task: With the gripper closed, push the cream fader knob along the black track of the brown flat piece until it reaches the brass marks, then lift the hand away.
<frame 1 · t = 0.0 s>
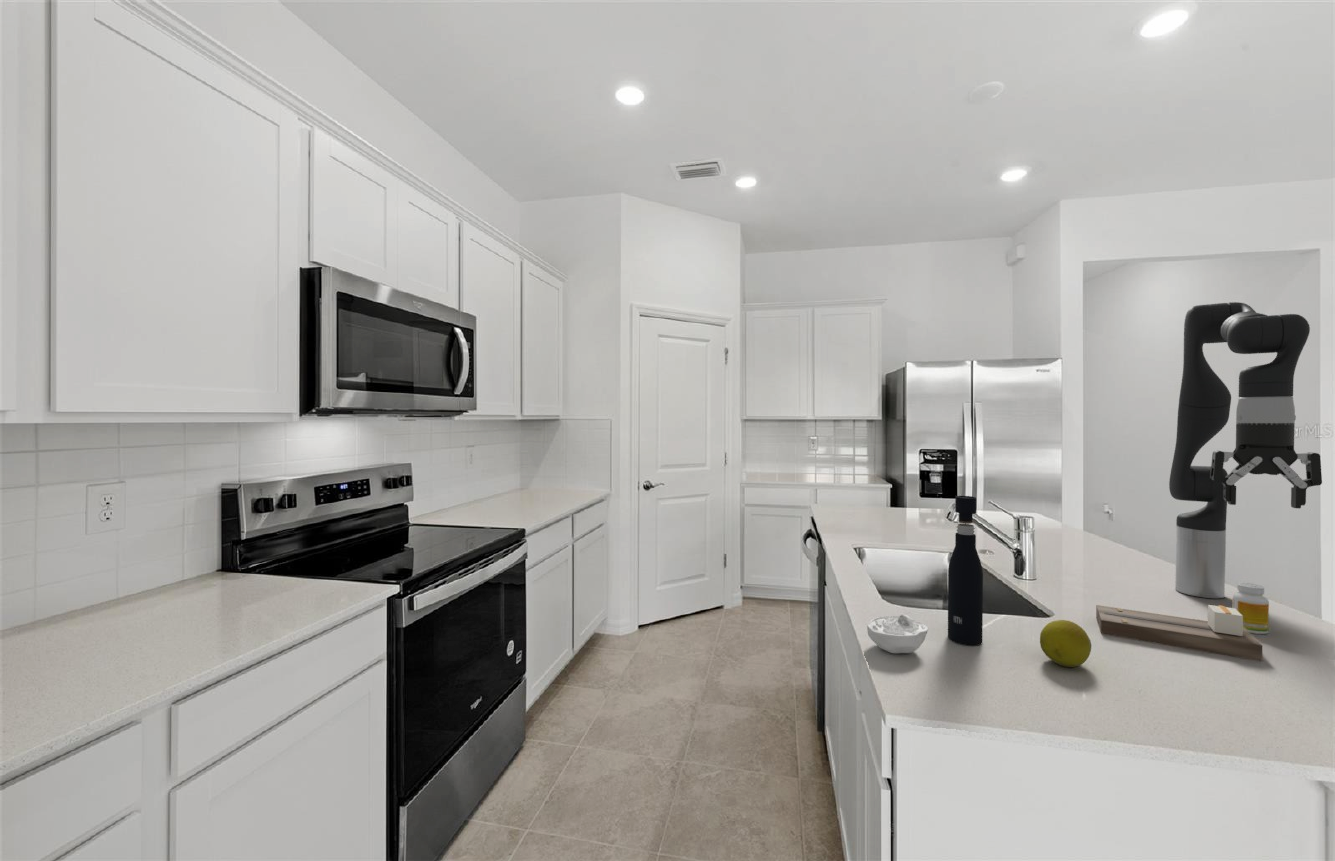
hand: (1262, 506, 104), 29 cm above the counter, tool pointing down, fingers open, 8 cm apart
brown flat piece: (1171, 637, 115), on the counter
cell model: (896, 651, 110), on the counter
lemon: (1065, 664, 103), on the counter
supplement bottle: (1249, 630, 119), on the counter
black water bottle: (964, 640, 114), on the counter
fader: (1224, 619, 110), point 5 cm above the counter, slide at 0.0 cm
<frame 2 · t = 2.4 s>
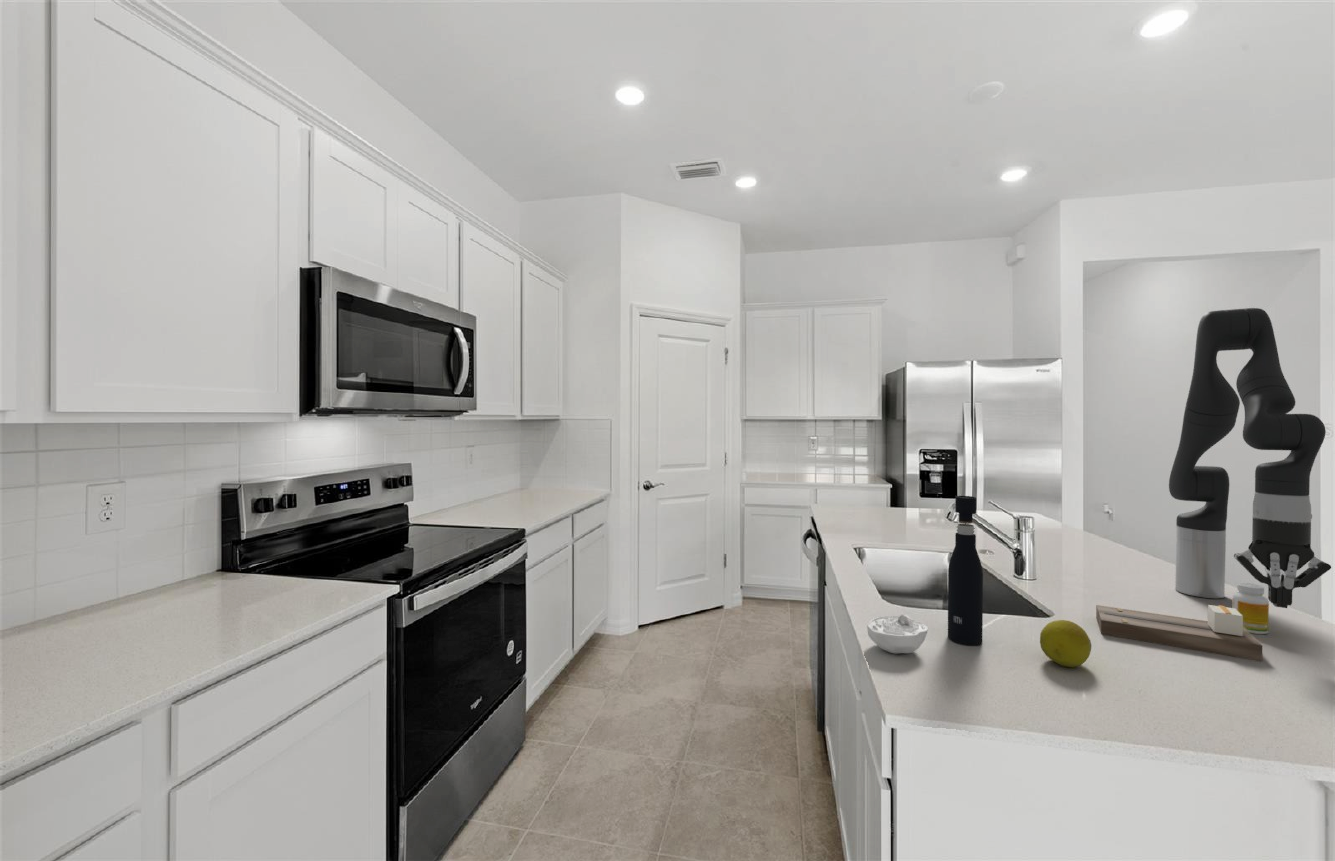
hand: (1279, 606, 106), 10 cm above the counter, tool pointing down, fingers closed
nothing on the counter moved.
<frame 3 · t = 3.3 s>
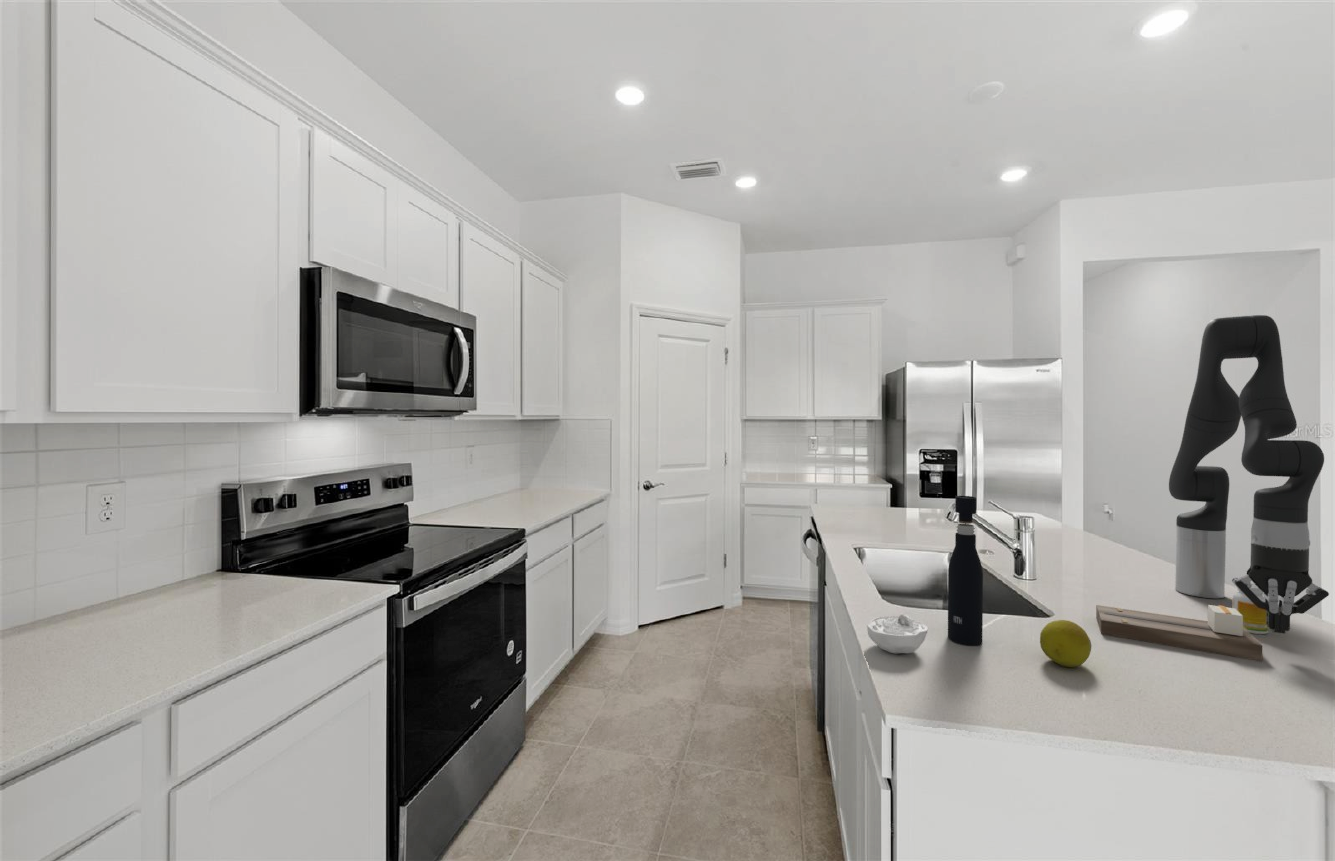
hand: (1277, 631, 106), 5 cm above the counter, tool pointing down, fingers closed
nothing on the counter moved.
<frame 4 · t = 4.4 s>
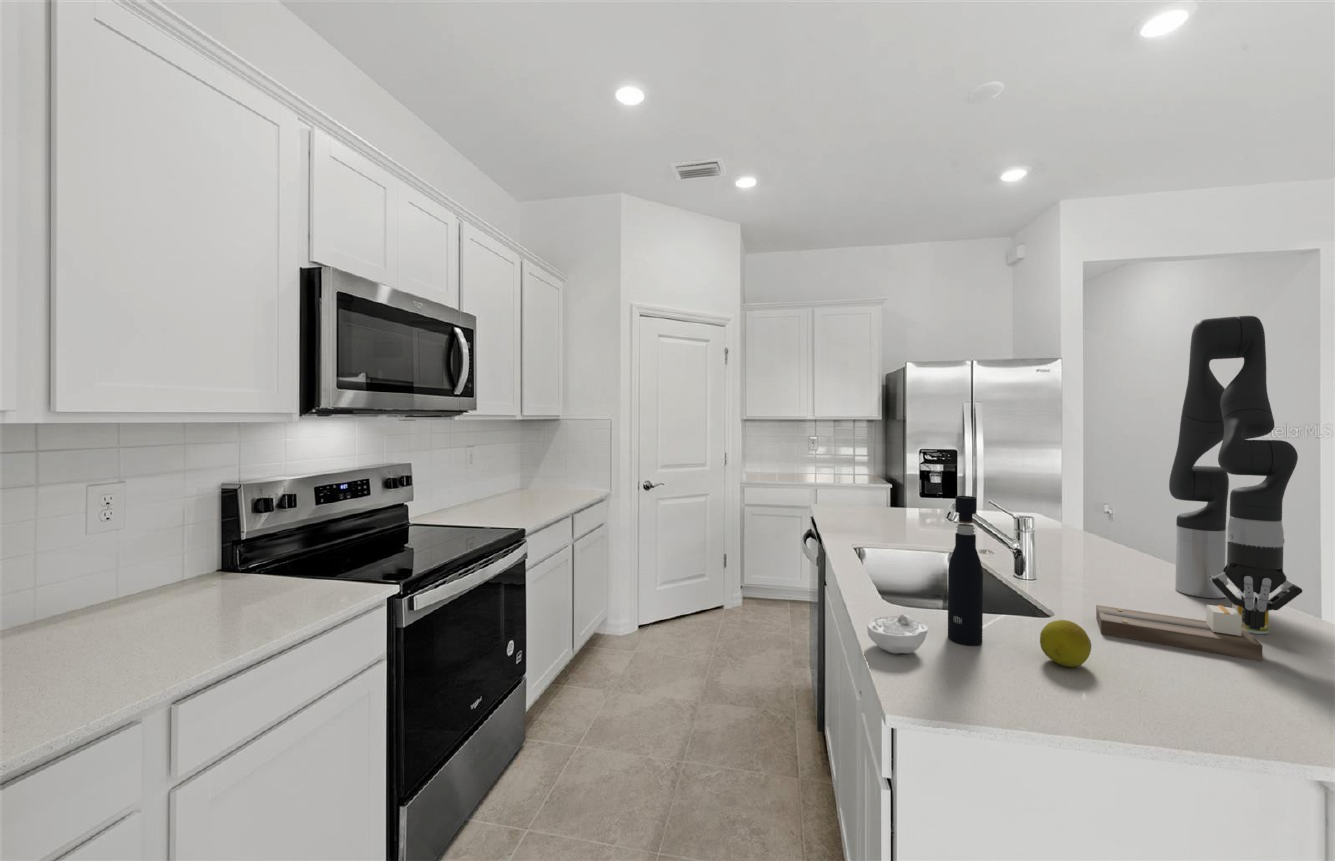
hand: (1253, 628, 108), 5 cm above the counter, tool pointing down, fingers closed
fader: (1223, 619, 110), point 5 cm above the counter, slide at 0.2 cm, touching gripper
everything else where it was.
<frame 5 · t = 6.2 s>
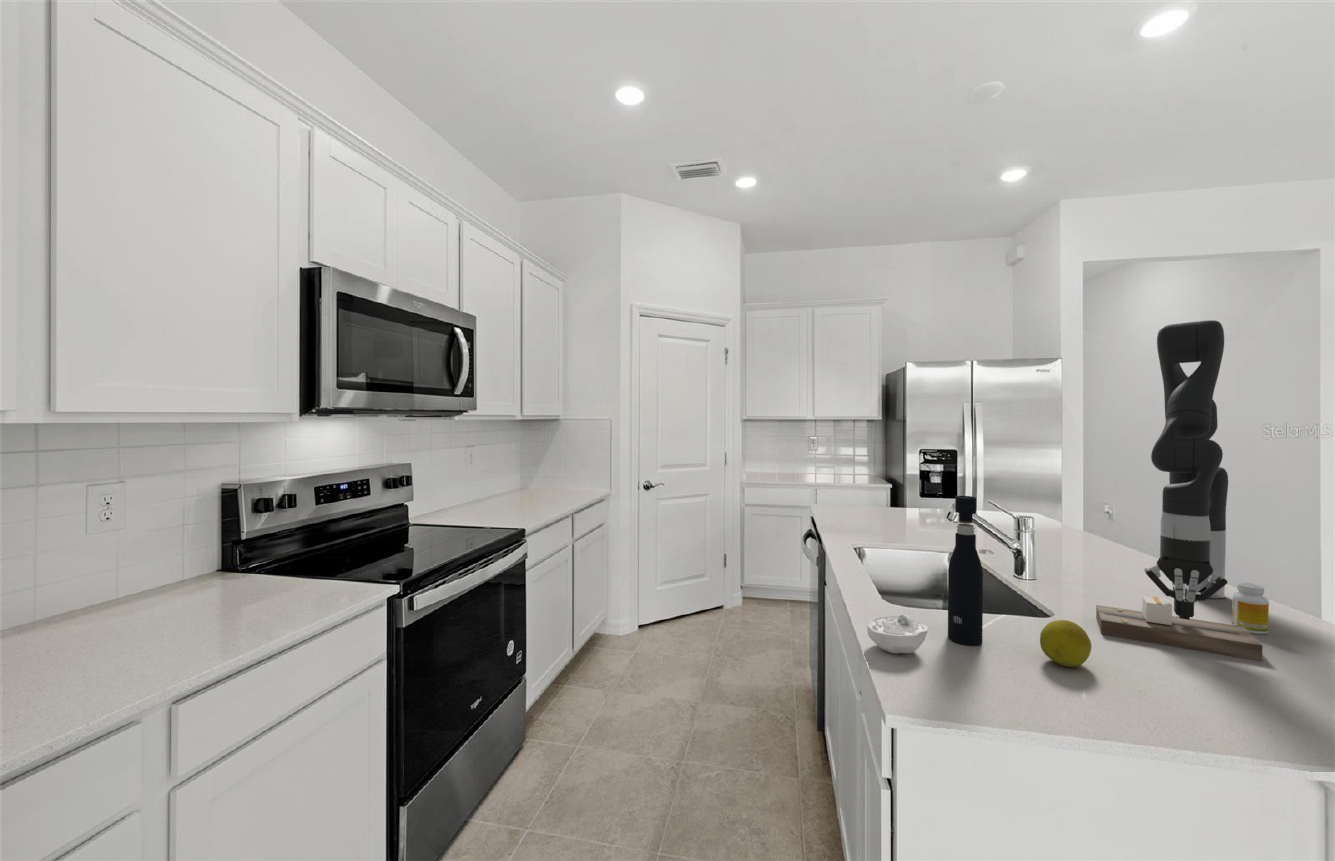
hand: (1183, 617, 114), 5 cm above the counter, tool pointing down, fingers closed
fader: (1156, 609, 116), point 5 cm above the counter, slide at 10.3 cm, touching gripper
everything else where it was.
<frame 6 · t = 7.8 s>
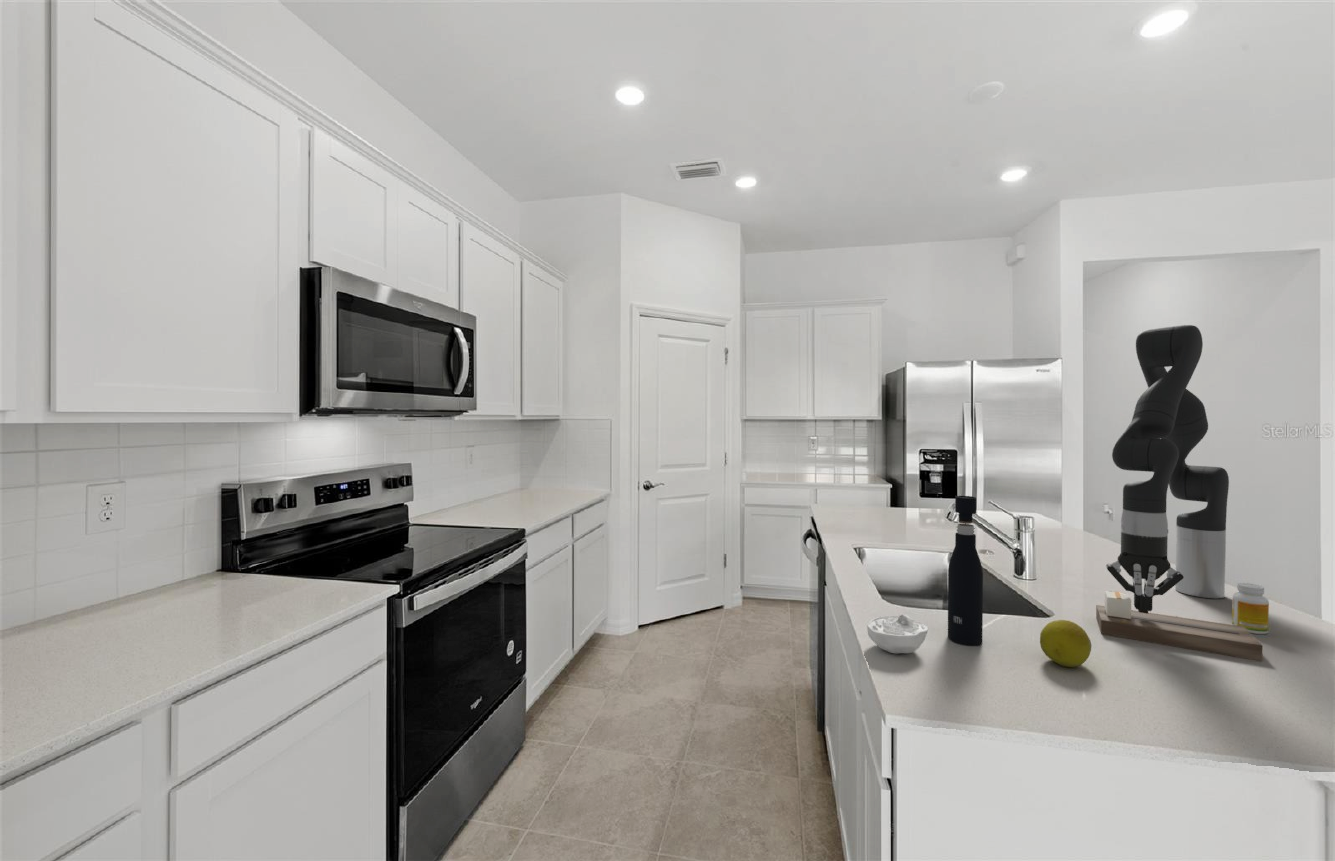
hand: (1142, 611, 117), 5 cm above the counter, tool pointing down, fingers closed
fader: (1117, 604, 120), point 5 cm above the counter, slide at 16.8 cm, touching gripper
everything else where it was.
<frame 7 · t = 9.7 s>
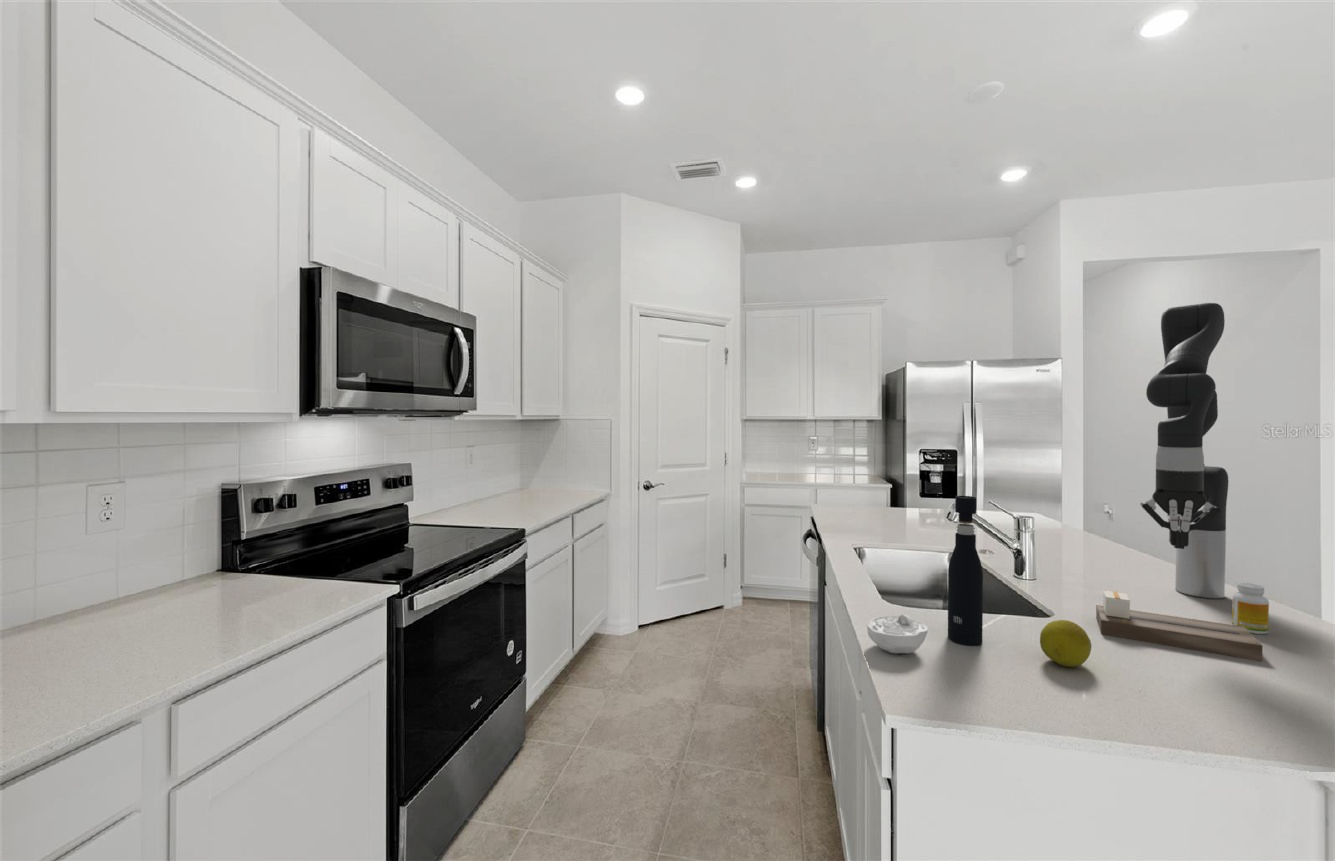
hand: (1178, 547, 118), 18 cm above the counter, tool pointing down, fingers closed
fader: (1116, 603, 120), point 5 cm above the counter, slide at 17.0 cm
everything else where it was.
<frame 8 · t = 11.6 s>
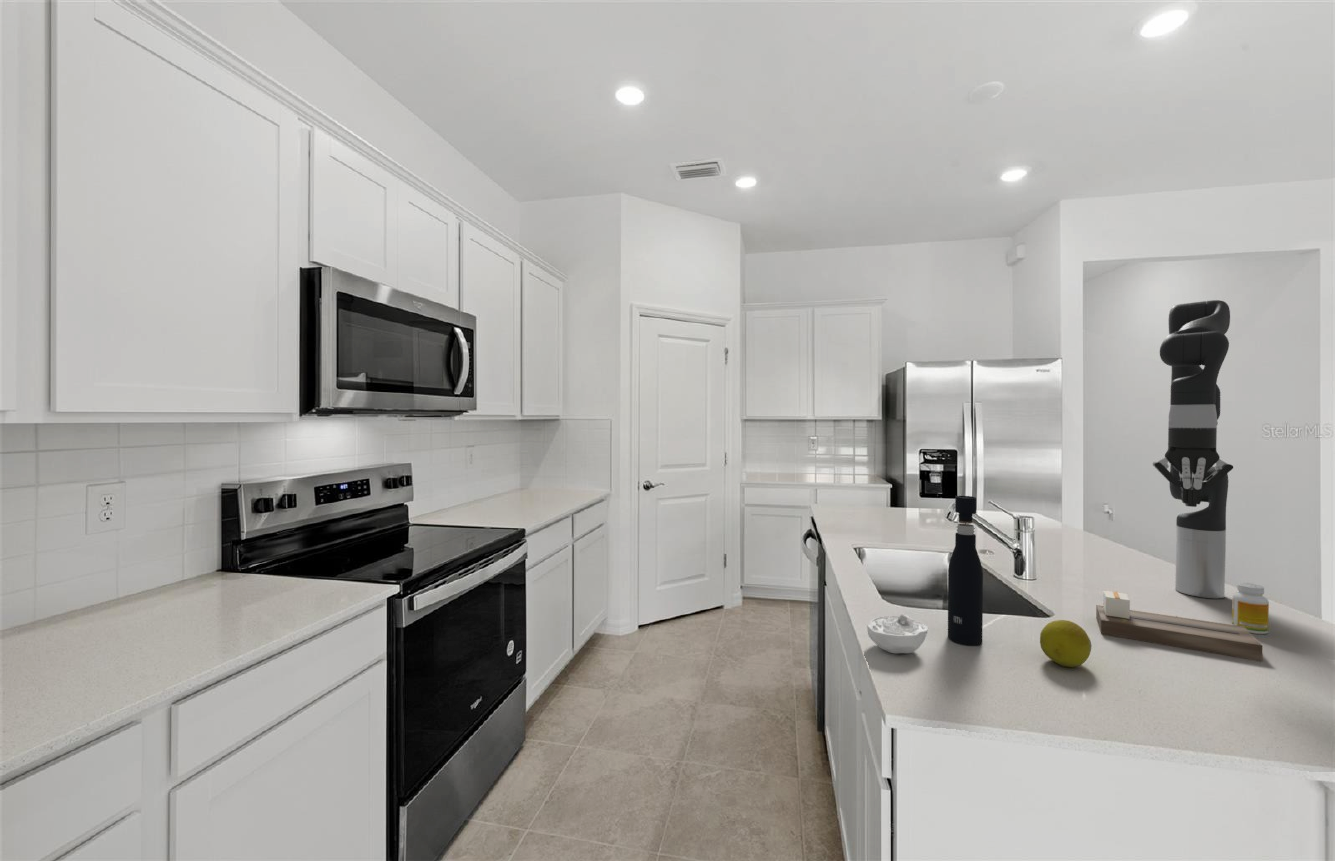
hand: (1190, 506, 118), 27 cm above the counter, tool pointing down, fingers closed
nothing on the counter moved.
at the end: fader slide at 17.0 cm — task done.
